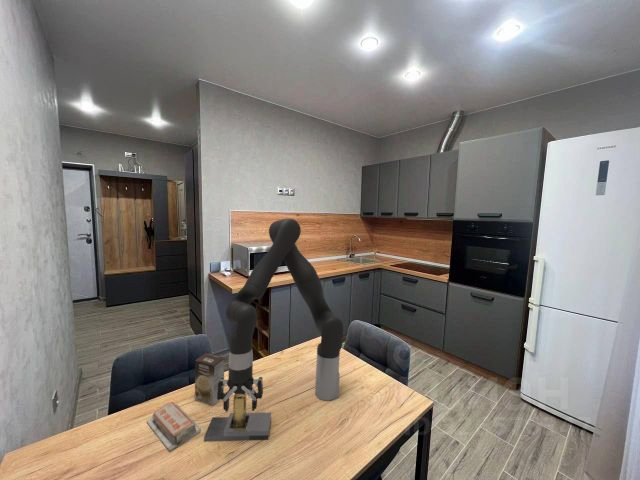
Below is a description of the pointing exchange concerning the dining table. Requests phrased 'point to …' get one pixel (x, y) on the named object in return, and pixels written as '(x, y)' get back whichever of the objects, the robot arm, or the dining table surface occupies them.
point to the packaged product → (173, 426)
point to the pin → (239, 411)
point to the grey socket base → (254, 431)
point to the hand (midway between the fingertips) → (240, 409)
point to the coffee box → (208, 377)
